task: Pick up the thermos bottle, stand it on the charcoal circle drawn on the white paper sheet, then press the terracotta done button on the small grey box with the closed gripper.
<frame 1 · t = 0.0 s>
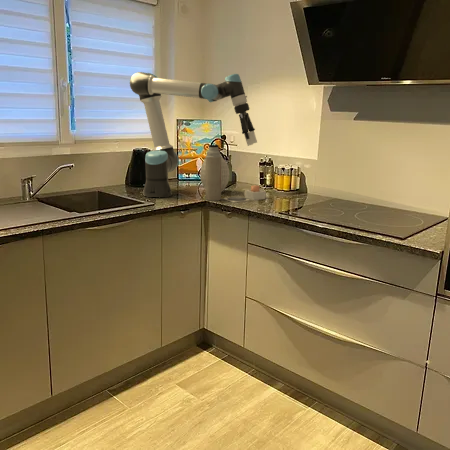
hand: (252, 144, 246), 28 cm above the countertop, tool tilted 20°, fingers open, 13 cm apart
thermos bottle: (213, 199, 244), on the countertop
vase: (214, 192, 262), on the countertop
done button: (255, 189, 246), point 4 cm above the countertop, slide at 0.0 cm
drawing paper: (236, 199, 243), on the countertop
button housing: (255, 198, 248), on the countertop
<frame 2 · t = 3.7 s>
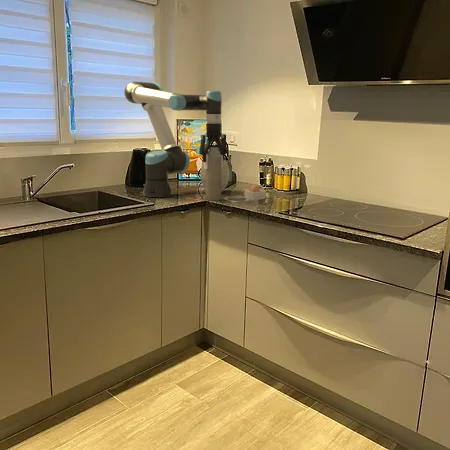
hand: (213, 168, 240), 16 cm above the countertop, tool pointing down, fingers closed on thermos bottle, 8 cm apart
thermos bottle: (213, 199, 244), on the countertop, touching gripper
everything else where it was.
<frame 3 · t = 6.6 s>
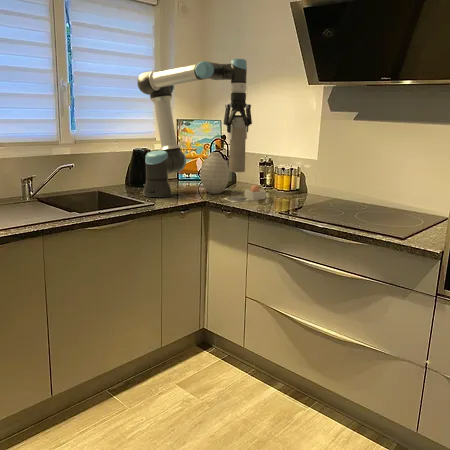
hand: (237, 139, 235), 31 cm above the countertop, tool pointing down, fingers closed on thermos bottle, 8 cm apart
thermos bottle: (237, 171, 239), point 15 cm above the countertop, touching gripper
everything else where it was.
when the fingers open (19 cm above the countertop, at t = 9.3 s): thermos bottle drops 2 cm, resting on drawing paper.
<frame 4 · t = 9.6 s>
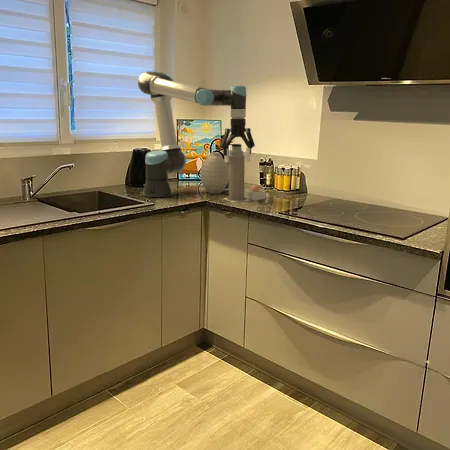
hand: (237, 161, 238), 20 cm above the countertop, tool pointing down, fingers open, 12 cm apart
thermos bottle: (236, 198, 243), resting on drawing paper
everything else where it was.
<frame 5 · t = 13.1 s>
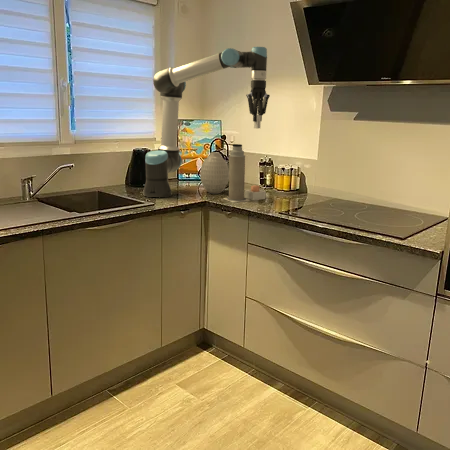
hand: (257, 128, 238), 36 cm above the countertop, tool pointing down, fingers closed
nothing on the countertop moved.
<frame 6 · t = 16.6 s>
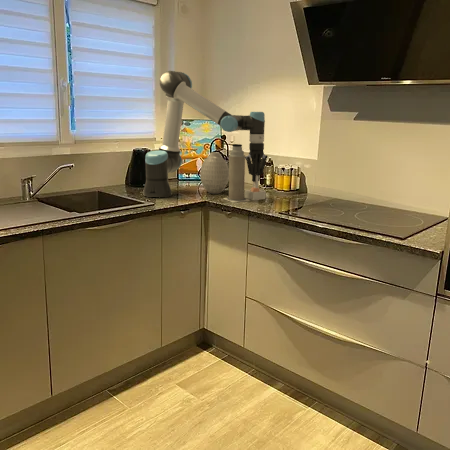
hand: (255, 187, 246), 6 cm above the countertop, tool pointing down, fingers closed
done button: (255, 191, 247), point 3 cm above the countertop, slide at 1.1 cm, touching gripper
everything else where it was.
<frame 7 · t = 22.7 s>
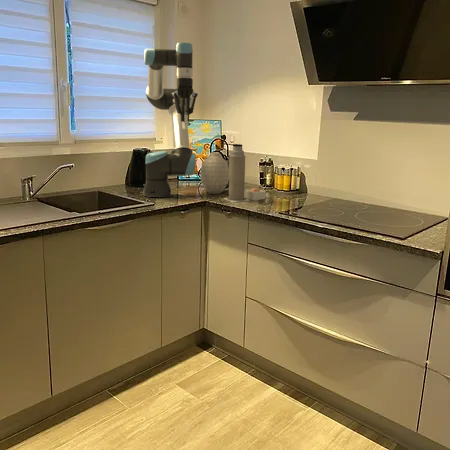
hand: (185, 128, 226), 36 cm above the countertop, tool pointing down, fingers closed
done button: (255, 192, 247), point 3 cm above the countertop, slide at 1.5 cm
everything else where it was.
at the end: thermos bottle 0.0 cm off-centre on the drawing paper, point 0.4 cm above the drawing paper's base; thermos bottle tilted 0°; done button slide at 1.5 cm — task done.
